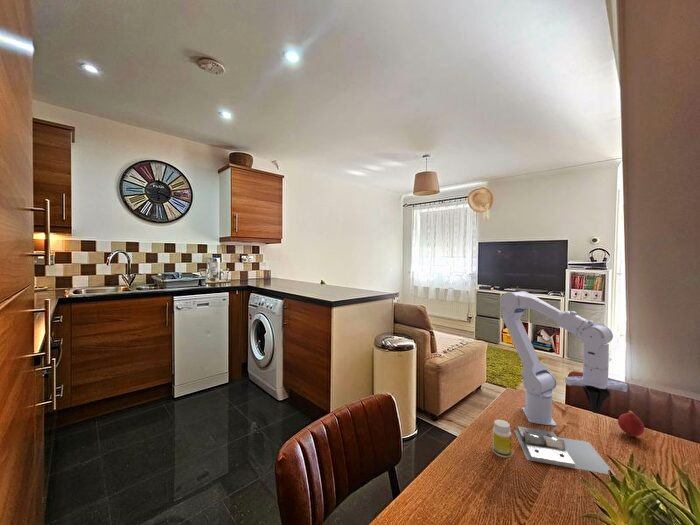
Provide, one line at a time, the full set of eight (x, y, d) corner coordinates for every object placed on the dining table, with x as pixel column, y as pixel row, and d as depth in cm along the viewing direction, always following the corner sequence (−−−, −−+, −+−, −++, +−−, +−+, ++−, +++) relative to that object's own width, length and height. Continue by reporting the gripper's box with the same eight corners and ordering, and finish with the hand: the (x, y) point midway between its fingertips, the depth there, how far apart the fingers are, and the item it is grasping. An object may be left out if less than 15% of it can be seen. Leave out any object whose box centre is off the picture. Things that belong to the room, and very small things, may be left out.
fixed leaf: (515, 429, 94) (515, 419, 94) (553, 435, 91) (553, 425, 90) (523, 447, 85) (523, 436, 85) (565, 454, 82) (566, 443, 82)
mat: (514, 430, 93) (514, 430, 93) (588, 442, 88) (588, 442, 88) (527, 460, 80) (527, 459, 80) (616, 476, 74) (616, 475, 74)
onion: (632, 431, 93) (633, 406, 93) (649, 442, 88) (650, 416, 87) (613, 430, 94) (613, 405, 94) (628, 441, 88) (629, 415, 88)
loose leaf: (522, 440, 88) (522, 430, 88) (561, 447, 85) (561, 436, 85) (531, 460, 79) (531, 449, 79) (575, 468, 76) (575, 456, 76)
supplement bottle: (513, 459, 80) (514, 429, 80) (495, 457, 81) (495, 427, 81) (507, 448, 85) (508, 419, 85) (490, 445, 86) (490, 417, 86)
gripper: (572, 368, 85) (571, 414, 85) (634, 374, 80) (633, 422, 81) (562, 359, 91) (561, 402, 92) (619, 365, 87) (618, 410, 87)
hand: (594, 411), depth 87 cm, fingers closed
